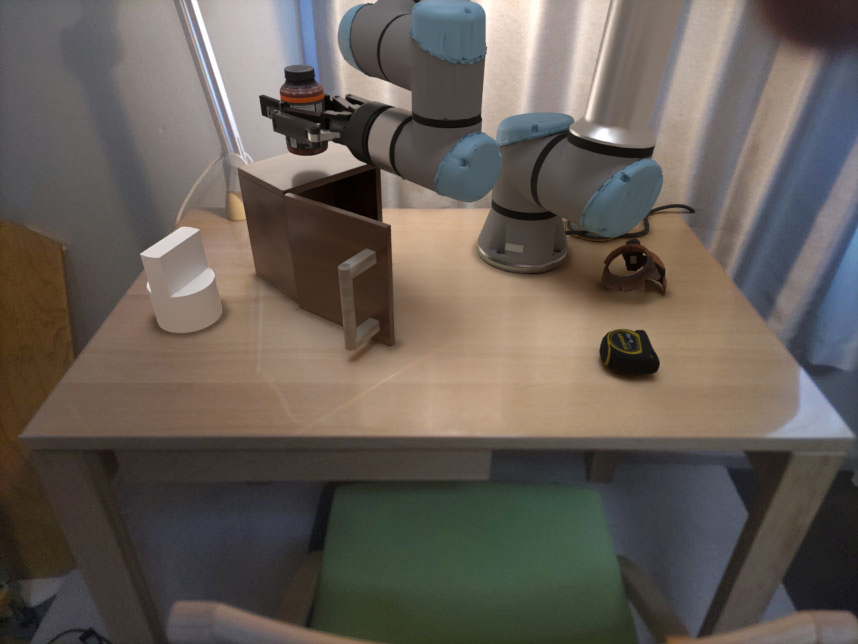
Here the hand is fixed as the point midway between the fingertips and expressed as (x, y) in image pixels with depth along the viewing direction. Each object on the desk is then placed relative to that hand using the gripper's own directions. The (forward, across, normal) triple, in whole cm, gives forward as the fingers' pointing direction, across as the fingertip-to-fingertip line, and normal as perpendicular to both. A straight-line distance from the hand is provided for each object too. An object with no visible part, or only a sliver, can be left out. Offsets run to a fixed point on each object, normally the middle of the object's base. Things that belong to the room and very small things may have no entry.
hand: (283, 100), depth 87 cm
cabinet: (-5, 0, -26) cm, 26 cm away
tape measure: (-53, +15, -26) cm, 61 cm away
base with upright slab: (-3, -21, -26) cm, 34 cm away
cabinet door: (-21, -10, -26) cm, 35 cm away
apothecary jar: (-27, +45, -26) cm, 59 cm away
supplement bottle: (-5, 0, -6) cm, 8 cm away
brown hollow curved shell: (-43, +32, -26) cm, 60 cm away
